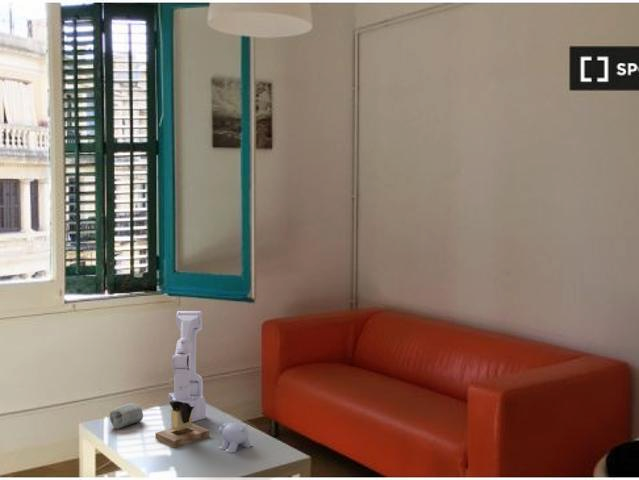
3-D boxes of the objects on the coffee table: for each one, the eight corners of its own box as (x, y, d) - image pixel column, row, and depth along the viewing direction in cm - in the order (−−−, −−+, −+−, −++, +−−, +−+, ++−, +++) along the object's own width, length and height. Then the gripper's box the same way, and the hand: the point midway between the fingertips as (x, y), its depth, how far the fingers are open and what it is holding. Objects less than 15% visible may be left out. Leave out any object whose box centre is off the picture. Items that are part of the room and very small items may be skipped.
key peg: (171, 428, 285) (171, 409, 284) (185, 423, 290) (185, 405, 289) (177, 430, 282) (177, 412, 282) (192, 426, 287) (191, 408, 286)
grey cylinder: (118, 425, 291) (116, 399, 295) (105, 431, 296) (104, 405, 300) (149, 425, 300) (147, 400, 304) (135, 431, 306) (134, 406, 310)
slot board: (190, 428, 296) (190, 422, 296) (209, 436, 288) (209, 430, 288) (155, 439, 285) (155, 432, 285) (174, 447, 277) (174, 441, 276)
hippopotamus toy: (234, 437, 288) (233, 412, 287) (257, 448, 277) (257, 422, 276) (209, 443, 281) (209, 418, 280) (233, 455, 270) (233, 429, 269)
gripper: (161, 383, 287) (162, 418, 288) (184, 391, 277) (185, 428, 278) (177, 380, 292) (177, 414, 293) (200, 387, 282) (200, 423, 283)
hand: (182, 421), depth 286 cm, fingers closed on key peg, 4 cm apart
